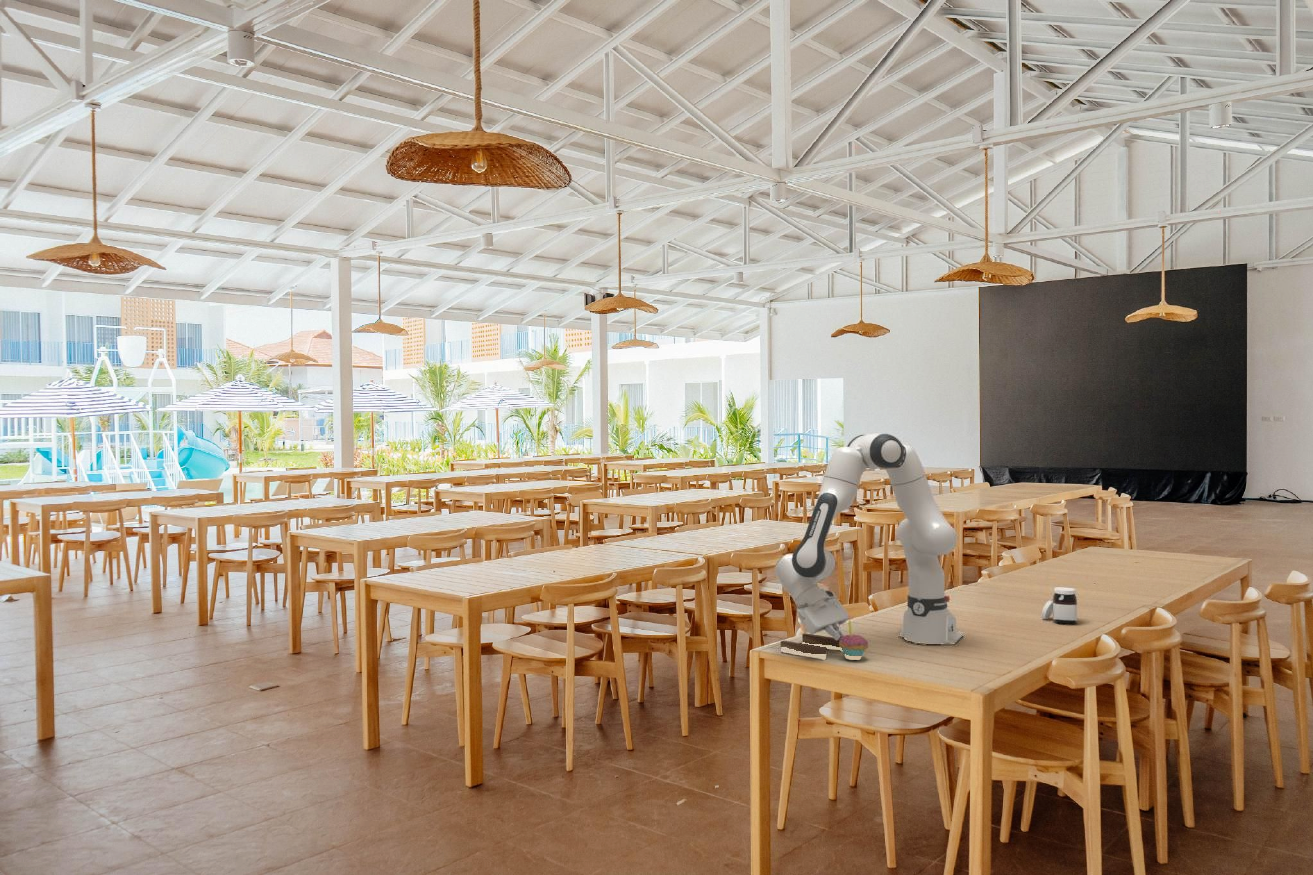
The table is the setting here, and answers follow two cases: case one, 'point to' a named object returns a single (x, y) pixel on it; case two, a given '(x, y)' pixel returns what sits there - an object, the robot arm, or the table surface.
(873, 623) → the table surface
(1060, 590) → the spread jar
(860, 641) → the cupcake
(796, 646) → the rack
